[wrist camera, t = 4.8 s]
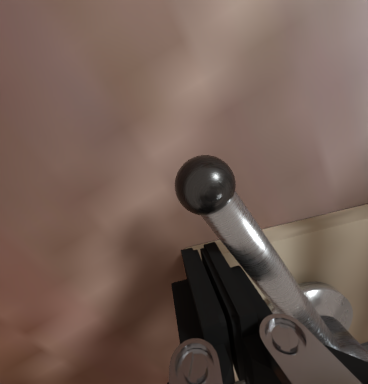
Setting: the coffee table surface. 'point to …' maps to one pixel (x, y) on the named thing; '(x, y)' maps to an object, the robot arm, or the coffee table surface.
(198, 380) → the robot arm
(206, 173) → the ball-knob lever handle
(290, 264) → the stand
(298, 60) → the coffee table surface
